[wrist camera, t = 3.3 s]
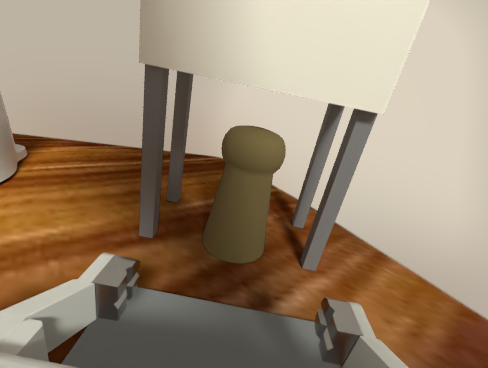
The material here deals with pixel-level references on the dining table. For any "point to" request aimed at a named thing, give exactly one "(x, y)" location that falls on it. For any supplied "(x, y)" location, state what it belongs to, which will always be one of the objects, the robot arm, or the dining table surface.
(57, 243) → the dining table surface
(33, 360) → the robot arm
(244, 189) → the olive pear shape
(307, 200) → the cabinet
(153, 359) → the mat
